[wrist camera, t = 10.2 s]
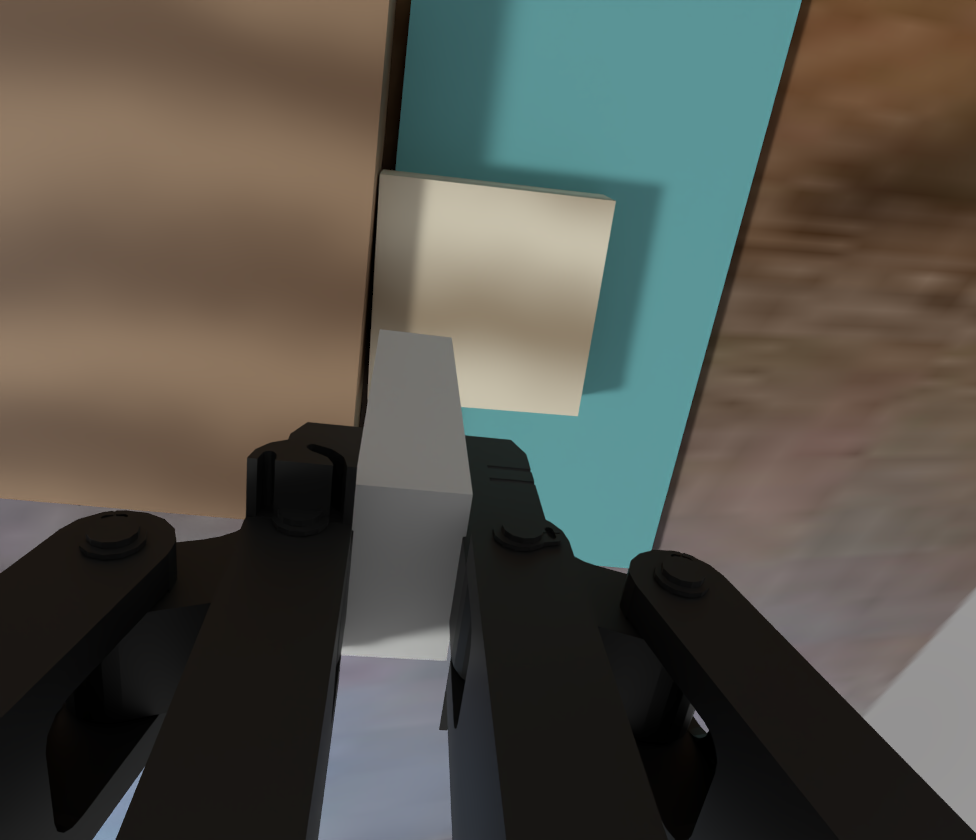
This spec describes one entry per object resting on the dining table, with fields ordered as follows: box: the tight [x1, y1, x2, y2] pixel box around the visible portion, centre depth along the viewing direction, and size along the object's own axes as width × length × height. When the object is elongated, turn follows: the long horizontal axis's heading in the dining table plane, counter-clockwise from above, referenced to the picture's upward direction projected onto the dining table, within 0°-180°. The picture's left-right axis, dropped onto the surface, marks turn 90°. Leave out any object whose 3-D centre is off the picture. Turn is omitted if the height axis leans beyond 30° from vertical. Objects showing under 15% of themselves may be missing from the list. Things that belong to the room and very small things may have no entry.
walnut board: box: [0, 0, 397, 519], centre depth 25 cm, size 18×16×4 cm
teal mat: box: [395, 0, 802, 568], centre depth 28 cm, size 24×13×1 cm, turn 172°
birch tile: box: [367, 169, 616, 416], centre depth 27 cm, size 8×8×2 cm
